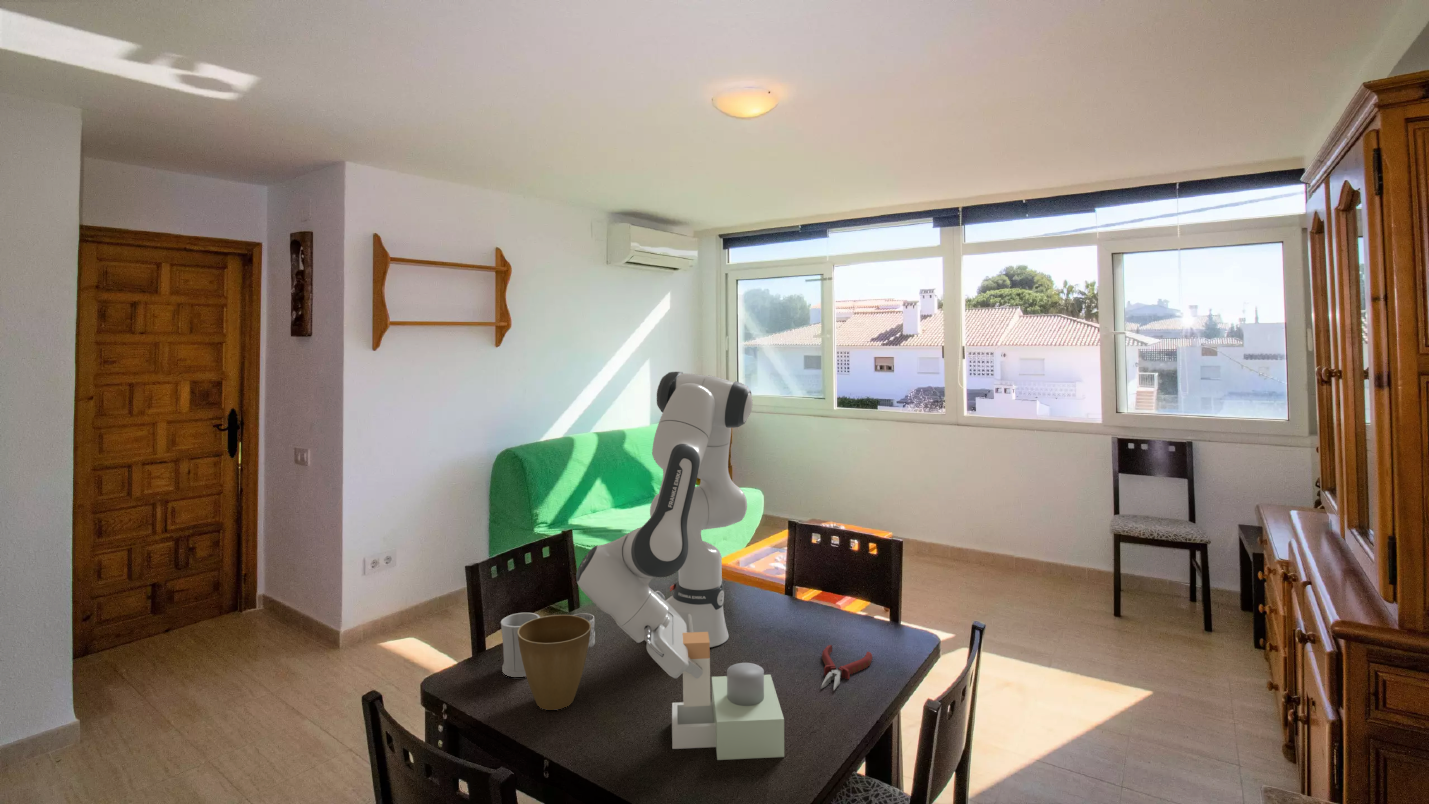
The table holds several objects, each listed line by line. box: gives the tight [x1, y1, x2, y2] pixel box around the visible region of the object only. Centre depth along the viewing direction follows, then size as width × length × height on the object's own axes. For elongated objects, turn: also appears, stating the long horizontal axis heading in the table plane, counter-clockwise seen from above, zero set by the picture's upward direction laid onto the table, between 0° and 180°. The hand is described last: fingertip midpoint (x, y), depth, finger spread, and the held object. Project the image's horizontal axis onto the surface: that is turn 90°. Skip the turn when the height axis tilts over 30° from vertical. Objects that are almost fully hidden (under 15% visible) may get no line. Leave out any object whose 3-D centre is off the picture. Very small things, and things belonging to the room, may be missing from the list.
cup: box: [500, 612, 541, 677], centre depth 154 cm, size 10×9×12 cm
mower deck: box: [671, 662, 785, 761], centre depth 127 cm, size 20×17×12 cm
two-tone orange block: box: [682, 632, 711, 707], centre depth 127 cm, size 5×5×12 cm
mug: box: [572, 612, 596, 649], centre depth 170 cm, size 10×7×7 cm
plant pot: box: [517, 614, 591, 710], centre depth 140 cm, size 15×15×16 cm
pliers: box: [819, 644, 873, 692], centre depth 152 cm, size 12×20×3 cm, turn 155°
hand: (699, 666), depth 127 cm, fingers closed on two-tone orange block, 5 cm apart
